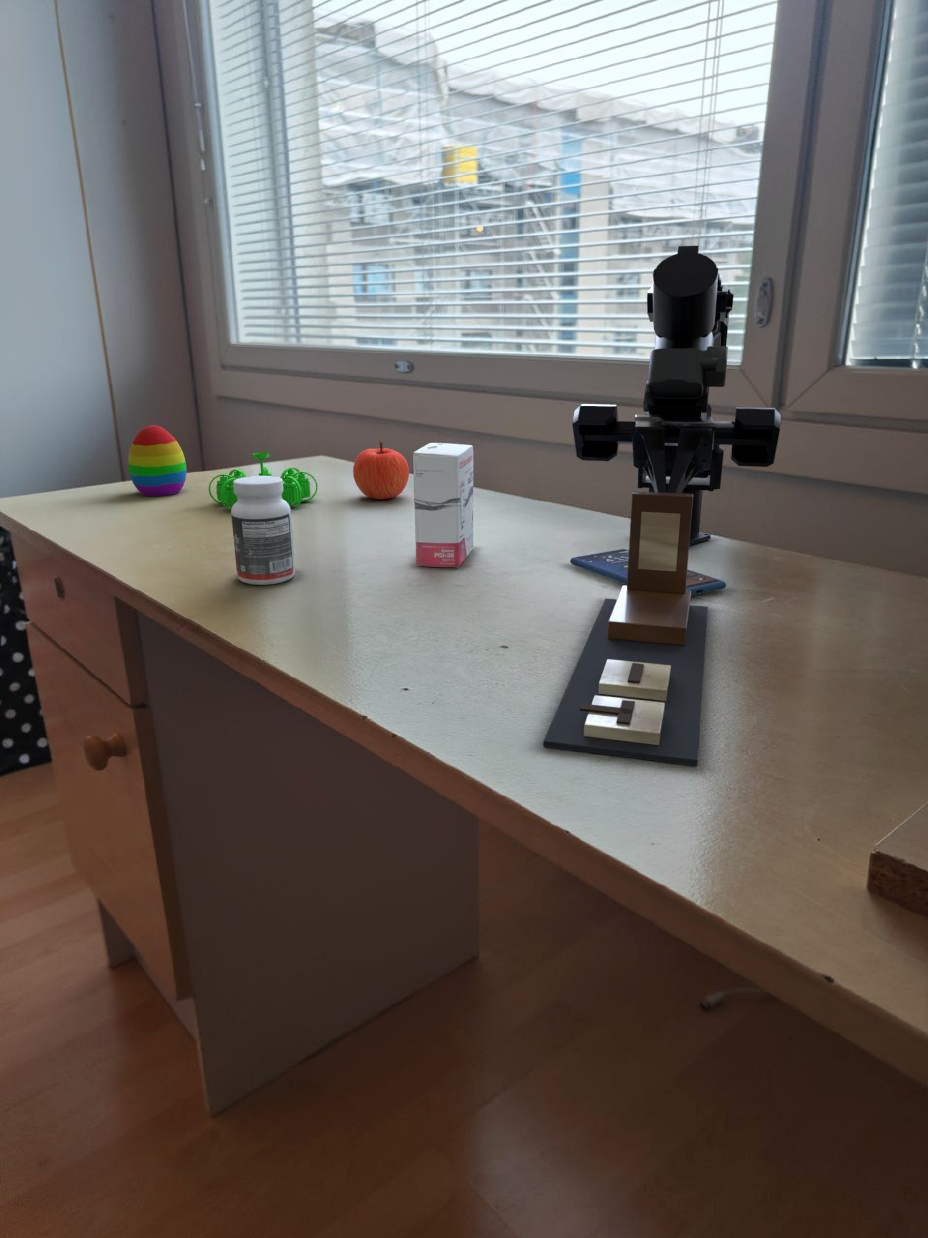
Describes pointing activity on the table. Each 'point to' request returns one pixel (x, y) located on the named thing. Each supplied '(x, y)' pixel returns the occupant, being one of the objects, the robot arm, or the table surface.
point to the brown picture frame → (655, 571)
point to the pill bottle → (262, 531)
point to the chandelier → (293, 484)
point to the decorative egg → (156, 462)
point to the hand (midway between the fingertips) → (665, 509)
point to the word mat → (634, 696)
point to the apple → (380, 473)
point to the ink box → (443, 504)
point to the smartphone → (617, 569)
